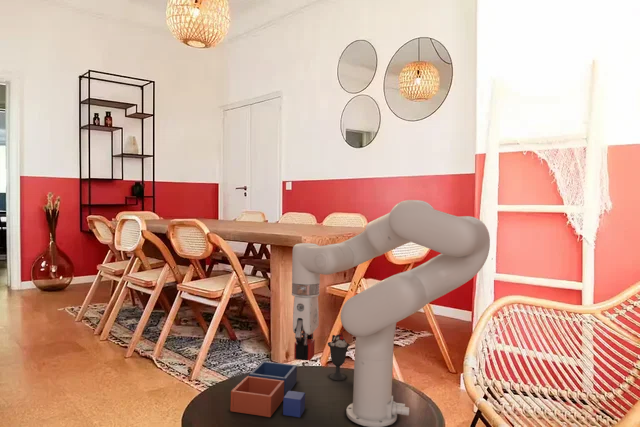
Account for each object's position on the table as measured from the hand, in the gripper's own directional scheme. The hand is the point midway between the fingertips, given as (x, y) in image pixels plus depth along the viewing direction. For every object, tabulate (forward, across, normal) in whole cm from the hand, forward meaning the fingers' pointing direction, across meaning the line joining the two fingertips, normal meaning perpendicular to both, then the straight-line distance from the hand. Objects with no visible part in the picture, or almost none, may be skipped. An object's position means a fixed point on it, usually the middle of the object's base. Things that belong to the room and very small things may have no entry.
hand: (304, 355), depth 127 cm
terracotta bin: (+11, -9, +10) cm, 17 cm away
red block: (0, 0, 0) cm, 0 cm away
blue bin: (+11, +3, +10) cm, 15 cm away
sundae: (+11, +16, -6) cm, 21 cm away
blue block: (+11, -10, 0) cm, 15 cm away
